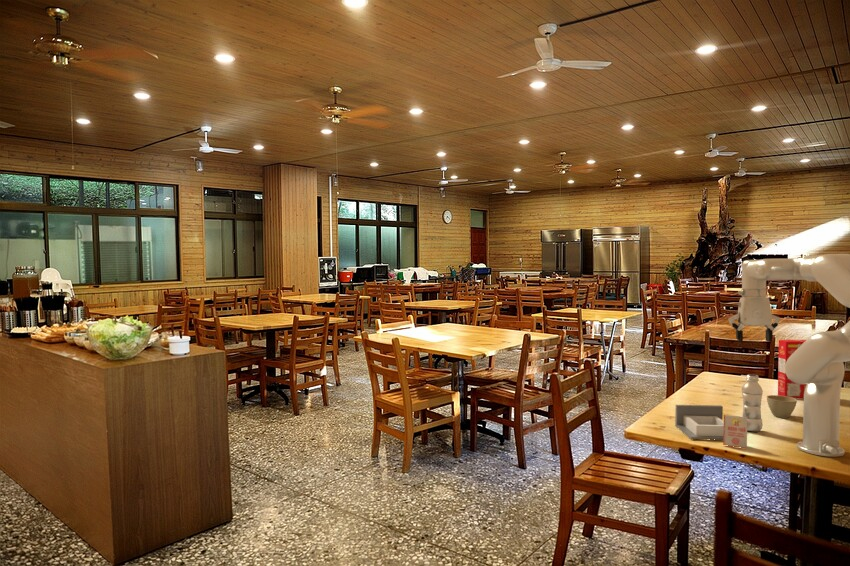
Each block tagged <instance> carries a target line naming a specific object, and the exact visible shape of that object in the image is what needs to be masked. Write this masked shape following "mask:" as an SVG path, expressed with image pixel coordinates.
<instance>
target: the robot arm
mask: <svg viewBox="0 0 850 566" xmlns="http://www.w3.org/2000/svg"><path fill="white" fill-rule="evenodd" d="M797 280H800V281H801V280H802V281H803V280H805V281H806V282H811V283H812V282H817V283H819V284H820V285H821V286H822V287H823V288H824V289H825V290H826V292H828V293H829V294H830V295H831V296H832V297H833V298H834V299H835V300H836V301H837V302H839V304H841V305H843V306H844V307H846V308H849V309H850V253H827V254H816V255H815V254H814V255H812V254H810V255H806V256H805V257H799V258H798V257H797V258H796V257H795V258H763V259H762V258H761V259H747V260H743V261H742V264H741V290H738V291H737V294H738V295H740V296H741V297H740V299H739V302H738V307H737V308H738V309H737V313H736V314H734V315H732V316H730V317H728V319H727V320H728V322H729V323H730V326H731V327H733V328H734V330H735V338H736V341H738V342H740V343H741V342H743V341H744V331H743V330H742V329H744V327H745V326H747V327H752V326H753V327H754V326H755V327H756V326H758V327H759V326H763V327H765V328H766V329H765V341H766V342H769V343H770V342H772V341H773V337H774V336H773V333H774V332H773V331H774V330H775V329H776V328H777V327H778V326H779V323H780V322H781V318H780V317H779V316H777V315H774V314H773V313H772V307H771V302H770V298H769V297H767V281H797ZM735 320H737V323H736V322H735ZM805 340H806V341H805V342H804V343H803V344H802V345H801V346H800V347H799V348H798V349H797V350H796V351H795V352H794V353H793V354H792V355H791V356H790V357H789V358H788V360H787V362H786V364H785V373H786V375H787V377H788V378H789V379H790V380H791V381H793V382H795V383H797V384H807V385H806V388H805V391H804V399H803V410H802V413H803V414H802V416H803V418H802V421H803V422H802V440H800V441H798V442H797V443H796V448H797V449H799V450H800V451H803V452H804V453H807V454H811V455H816V456H822V457H831V458H832V457H836V458H837V457H842V456H844V455H845V453H846V450H845V449H844V448H843V447H841V446H840V441H839V440H840V408H841V392H842V390H841V389H842V385H843V381H844V377H845V372H846V371H845V370H846V369H845V364H844V363H846V362H850V320H849V321H848V322H846V324H844V325H843V326H841V327H840V328H839V329H836V330H830V331H828V330H827V331H826V330H825V331H819V332H816V333H814V334H812V335H811V336H809V337H808V338H806V339H805Z"/></svg>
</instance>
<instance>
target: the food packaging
mask: <svg viewBox="0 0 850 566" xmlns="http://www.w3.org/2000/svg"><path fill="white" fill-rule="evenodd" d="M806 340H807V339H778V356H777V357H778V364H777V366H778V368H777V369H778V371H777V395H779V396H787V397H792V398H804V391H805V388H806V385H807V384H797V383H795V382H793V381H791V380H790V379H789V378H788V377H787V375H786V373H785V364H786V362H787V360H788V358H789V357H790V356H791V355H792V354H793V353H794V352H795V351H796V350H797V349H798V348H799V347H800V346H801V345H802V344H803V343H804V342H805V341H806Z"/></svg>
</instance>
